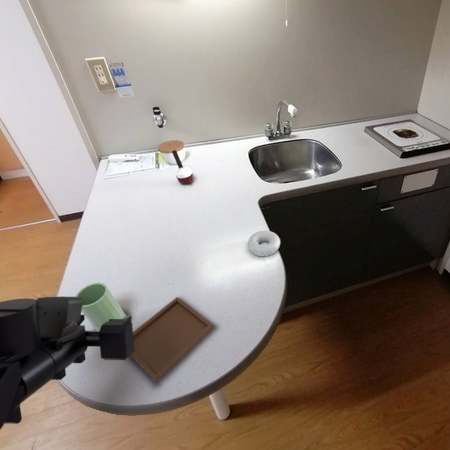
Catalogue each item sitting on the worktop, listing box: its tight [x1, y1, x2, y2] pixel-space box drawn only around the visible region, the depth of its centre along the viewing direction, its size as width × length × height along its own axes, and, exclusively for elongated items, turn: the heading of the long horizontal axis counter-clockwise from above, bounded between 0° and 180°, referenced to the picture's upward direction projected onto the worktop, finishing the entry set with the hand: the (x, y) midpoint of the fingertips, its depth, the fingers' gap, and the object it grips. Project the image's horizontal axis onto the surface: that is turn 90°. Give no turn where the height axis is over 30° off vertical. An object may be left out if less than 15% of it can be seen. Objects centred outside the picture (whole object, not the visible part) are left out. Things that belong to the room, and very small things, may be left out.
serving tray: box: [129, 297, 214, 384], centre depth 71 cm, size 16×14×2 cm
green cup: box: [74, 282, 127, 331], centre depth 71 cm, size 6×6×12 cm
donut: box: [247, 230, 281, 257], centre depth 94 cm, size 10×4×10 cm
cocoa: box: [172, 150, 194, 186], centre depth 120 cm, size 10×6×12 cm, turn 14°
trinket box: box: [157, 139, 186, 166], centre depth 134 cm, size 11×11×9 cm
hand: (107, 317), depth 59 cm, fingers open, 9 cm apart
